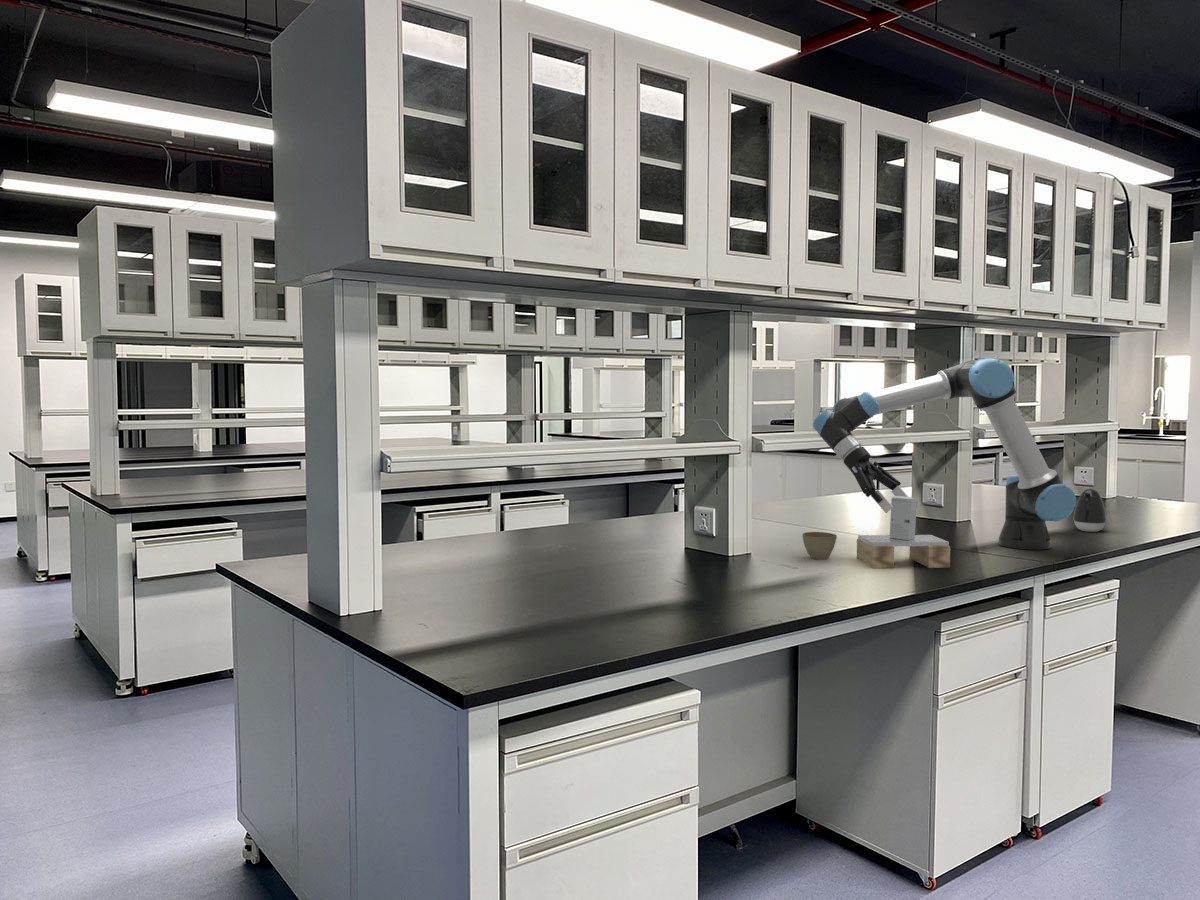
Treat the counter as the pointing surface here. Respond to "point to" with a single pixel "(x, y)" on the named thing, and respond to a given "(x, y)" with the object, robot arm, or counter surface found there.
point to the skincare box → (903, 517)
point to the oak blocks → (920, 554)
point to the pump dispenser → (1089, 512)
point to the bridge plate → (902, 541)
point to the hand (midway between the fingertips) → (900, 507)
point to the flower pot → (819, 544)
